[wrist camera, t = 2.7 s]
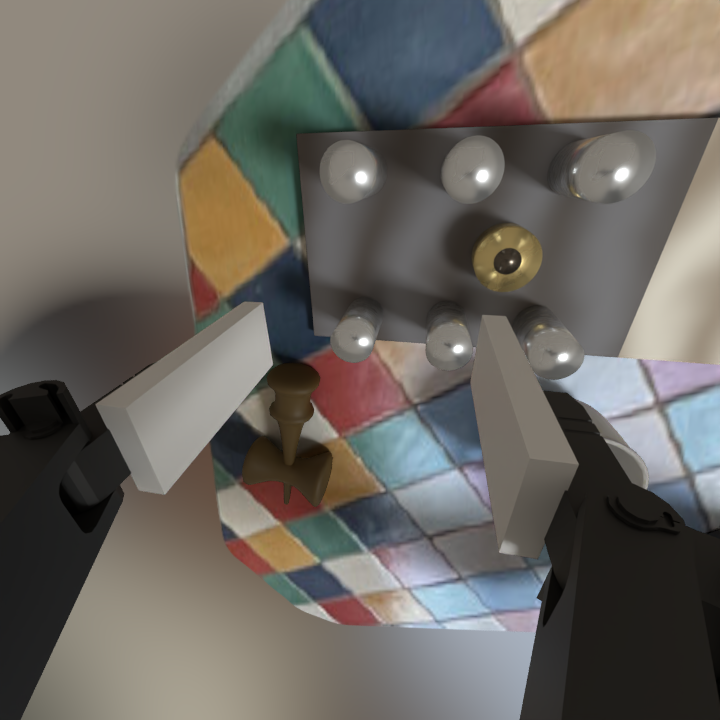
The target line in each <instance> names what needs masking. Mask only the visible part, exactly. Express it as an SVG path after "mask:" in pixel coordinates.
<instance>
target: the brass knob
mask: <svg viewBox="0 0 720 720" xmlns="http://www.w3.org/2000/svg"><path fill="white" fill-rule="evenodd" d="M471 259H472V265H473V268H474V271H475V274H476V277H477V278H478V280H479V281H480V283H481V284H482V285H483V286H485V287H486V288H488V289H490V290H493V291H497V292H509V291H513V290H517V289H519V288H521V287H523V286H524V285H526V284H527V283H528V282H530V281H531V280H532V279H533V278H534V276H535V275H536V274H537V272H538V270H539V268H540V266H541V262H542V248H541V245H540V242H539V241H538V239H537V238H536V237H535V236H534V235H533V234H532V233H531V232H529V231H528V230H526V229H525V228H524V227H522V226H520V225H518V224H515V223H501V224H497V225H494V226H492V227H490V228H488V229H487V230H486V231H484V232H483V233H482V234H481V235H480V236H479V238H478V239H477V240H476V242H475V244H474V246H473V250H472V256H471Z"/></svg>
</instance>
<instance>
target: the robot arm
mask: <svg viewBox="0 0 720 720" xmlns="http://www.w3.org/2000/svg"><path fill="white" fill-rule="evenodd" d="M272 365H273V361H272V355H271V349H270V343H269V337H268V331H267V325H266V319H265V313H264V307H263V303H260V302H243V303H242V304H240V305H239V306H237V307H236V308H234V309H233V310H231V311H230V312H229V313H227V314H226V315H224V316H223V317H221V318H220V319H218V320H217V321H215V322H214V323H213V324H211V325H210V326H208V327H207V328H205V329H204V330H202V331H201V332H200V333H198V334H197V335H195V336H194V337H192V338H191V339H189V340H188V341H186V342H185V343H184V344H182V345H181V346H179V347H178V348H176V349H175V350H174V351H172V352H171V353H169V354H168V355H166V356H165V357H163V358H162V359H160V360H159V361H157V362H155V363H153V364H151V365H148V366H147V367H145V368H144V369H143V370H141V371H140V372H138V373H137V374H135V377H131V378H129V379H128V380H126V381H125V382H123V385H119V386H118V387H116V388H115V389H113V390H112V391H110V392H109V393H108V394H106V395H104V396H103V397H102V398H100V399H98V400H97V401H96V402H94V403H93V404H91V405H90V406H88V407H87V408H85V409H84V410H83V411H81V412H80V411H79V409H78V407H77V405H76V403H75V402H74V400H73V398H72V396H71V394H70V392H69V390H68V389H67V387H66V385H65V383H64V382H60V381H57V380H53V381H52V380H51V381H41V382H35V383H30V384H27V385H24V386H21V387H18V388H15V389H12V390H10V391H8V392H6V393H3V394H1V395H0V418H1V419H2V421H3V422H4V424H5V425H6V427H7V428H8V429H9V431H10V432H11V433H10V434H9V435H3V436H0V720H21V717H22V715H23V713H24V711H25V709H26V707H27V704H28V702H29V700H30V698H31V696H32V694H33V692H34V689H35V687H36V685H37V683H38V681H39V679H40V677H41V675H42V673H43V670H44V668H45V666H46V664H47V662H48V660H49V658H50V655H51V653H52V651H53V649H54V647H55V645H56V642H57V640H58V638H59V636H60V634H61V632H62V630H63V628H64V625H65V623H66V621H67V619H68V617H69V615H70V613H71V610H72V608H73V606H74V604H75V602H76V600H77V598H78V595H79V593H80V591H81V589H82V587H83V585H84V583H85V580H86V578H87V576H88V574H89V572H90V570H91V568H92V565H93V563H94V561H95V559H96V557H97V555H98V553H99V551H100V548H101V546H102V544H103V542H104V540H105V538H106V536H107V533H108V531H109V529H110V527H111V525H112V523H113V521H114V518H115V516H116V514H117V512H118V510H119V508H120V506H121V504H122V501H123V497H124V492H123V491H122V488H121V487H120V484H121V483H122V482H123V481H124V480H125V479H126V478H127V477H128V476H129V475H130V474H131V476H132V478H133V480H134V482H135V484H136V486H137V488H138V490H139V491H146V492H151V493H157V494H163V495H165V494H166V493H167V492H168V490H169V489H170V488H171V487H172V486H173V484H174V483H175V482H176V481H177V480H178V478H179V477H180V476H181V475H182V474H183V472H184V471H185V470H186V469H187V468H188V466H189V465H190V464H191V463H192V462H193V460H194V459H195V458H196V457H197V455H198V454H199V453H200V452H201V451H202V449H203V448H204V447H205V446H206V445H207V444H208V442H209V441H210V440H211V439H212V438H213V436H214V435H215V434H216V433H217V432H218V430H219V429H220V428H221V427H222V426H223V424H224V423H225V422H226V421H227V420H228V418H229V417H230V416H231V415H232V413H233V412H234V411H235V410H236V409H237V407H238V406H239V405H240V404H241V403H242V401H243V400H244V399H245V398H246V397H247V395H248V394H249V393H250V392H251V391H252V389H253V388H254V387H255V386H256V385H257V383H258V382H259V381H260V380H261V379H262V377H263V376H264V375H265V374H266V373H267V371H268V370H269V369H270V368H271V367H272ZM470 384H471V390H472V396H473V401H474V407H475V413H476V419H477V425H478V431H479V437H480V443H481V449H482V455H483V461H484V466H485V472H486V478H487V484H488V490H489V496H490V502H491V508H492V514H493V520H494V526H495V532H496V537H497V543H498V549H499V553H504V554H510V555H516V556H521V557H527V558H533V559H538V558H539V556H540V553H541V551H542V549H543V546H544V544H546V547H547V550H548V554H549V557H550V561H551V564H552V567H551V569H550V571H549V573H548V575H547V577H546V579H545V581H544V584H543V586H542V588H541V590H540V592H539V594H538V596H537V598H538V599H539V600H541V601H542V603H541V609H540V614H539V619H538V625H537V630H536V636H535V641H534V646H533V651H532V656H531V662H530V667H529V673H528V678H527V684H526V688H525V694H524V699H523V704H522V710H521V715H520V720H720V530H717V531H714V532H712V533H709V534H705V533H702V532H699V531H697V530H694V529H692V528H690V527H687V526H686V525H685V523H684V521H683V519H682V518H681V517H680V516H679V514H678V513H677V512H676V511H675V510H674V509H673V508H672V507H671V506H670V505H669V504H668V503H666V502H665V501H664V500H662V499H661V498H659V497H658V496H657V495H655V494H654V493H652V492H650V491H648V490H646V489H644V488H642V487H640V486H638V485H636V484H633V483H632V482H631V481H630V479H629V478H628V476H627V474H626V473H625V471H624V470H623V468H622V467H621V465H620V463H619V462H618V460H617V459H616V457H615V455H614V454H613V452H612V451H611V449H610V448H609V446H608V444H607V443H606V441H605V440H604V438H603V437H602V436H600V432H599V430H598V429H597V427H596V425H595V424H594V423H592V419H591V418H590V416H589V414H588V413H587V411H586V410H585V408H584V406H583V405H581V404H580V403H579V402H578V401H576V400H575V399H574V398H572V397H571V396H570V395H569V394H567V393H562V392H551V391H543V390H542V388H541V386H540V384H539V382H538V380H537V378H536V376H535V374H534V372H533V370H532V368H531V366H530V364H529V362H528V360H527V358H526V356H525V354H524V352H523V350H522V348H521V346H520V344H519V342H518V339H517V337H516V335H515V333H514V331H513V329H512V327H511V325H510V323H509V321H508V319H507V317H506V316H495V315H482V319H481V325H480V331H479V336H478V342H477V347H476V353H475V359H474V364H473V370H472V376H471V381H470Z"/></svg>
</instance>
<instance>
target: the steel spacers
mask: <svg viewBox="0 0 720 720" xmlns="http://www.w3.org/2000/svg"><path fill="white" fill-rule="evenodd" d="M655 161H656V149H655V146H654V143H653V141H652V140H651V139H650V138H649V137H648V136H647V135H646V134H644V133H642V132H639V131H635V130H628V131H621V132H617V133H612V134H607V135H602V136H597V137H593V138H588V139H583V140H578V141H574V142H572V143H570V144H568V145H566V146H564V147H563V148H562V149H561V150H560V151H559V152H558V153H557V154H556V155H555V156H554V158H553V159H552V161H551V163H550V166H549V169H548V183H549V185H550V187H551V189H552V190H553V191H554V192H555V193H557V194H559V195H561V196H566V197H571V198H576V199H581V200H587V201H592V202H597V203H602V204H611V203H616V202H619V201H622V200H624V199H626V198H628V197H630V196H631V195H633V194H634V193H636V192H637V191H638V190H639V189H640V188H641V187H642V186H643V185H644V184H645V183H646V181H647V180H648V178H649V177H650V175H651V173H652V171H653V168H654V165H655ZM504 167H505V161H504V156H503V152H502V150H501V148H500V147H499V145H498V144H497V143H496V142H495V141H494V140H492V139H491V138H489V137H486V136H479V135H477V136H471V137H468V138H465V139H463V140H462V141H460V142H459V143H457V144H456V145H455V146H454V147H453V148H452V149H451V151H450V152H449V153H448V154H447V156H446V157H445V159H444V161H443V163H442V167H441V181H442V184H443V186H444V188H445V190H446V191H447V193H448V194H449V195H450V196H451V197H452V198H453V199H454V200H456V201H458V202H460V203H465V204H472V203H477V202H480V201H482V200H484V199H485V198H487V197H488V196H490V195H491V194H492V193H493V192H494V191H495V189H496V188H497V187H498V185H499V183H500V181H501V179H502V177H503V173H504ZM386 175H387V168H386V163H385V161H384V158H383V157H382V155H381V154H380V153H379V152H378V151H377V150H375V149H374V148H371V147H368V146H366V145H363V144H360V143H357V142H355V141H351V140H341V141H338V142H335V143H334V144H332V145H331V146H330V147H329V148H328V149H327V150H326V151H325V153H324V155H323V157H322V160H321V163H320V179H321V183H322V186H323V188H324V189H325V191H326V193H327V194H328V195H329V196H330V197H331V198H332V199H334V200H335V201H337V202H340V203H344V204H350V203H355V202H357V201H360V200H362V199H365V198H367V197H370V196H372V195H374V194H376V193H377V192H378V191H379V190H380V189H381V188H382V187H383V185H384V183H385V180H386ZM383 316H384V313H383V309H382V307H381V305H380V304H379V303H378V302H377V301H376V300H375V299H373V298H370V297H360V298H357V299H355V300H354V301H353V302H352V303H351V304H350V306H349V308H348V309H347V311H346V312H345V314H344V316H343V317H342V319H341V320H340V322H339V324H338V325H337V327H336V328H335V330H334V332H333V333H332V336H331V347H332V349H333V351H334V353H335V354H336V355H337V356H338V357H339V358H341V359H342V360H344V361H347V362H352V363H356V362H361V361H363V360H365V359H367V358H368V357H369V355H370V354H371V352H372V349H373V346H374V344H375V341H376V338H377V335H378V332H379V329H380V326H381V323H382V320H383ZM513 331H514V333H515V335H516V337H517V339H518V341H519V343H520V345H521V347H522V349H523V351H524V353H525V355H526V357H527V359H528V361H529V363H530V365H531V367H532V369H533V371H534V372H535V373H536V374H537V375H538V376H540V377H542V378H545V379H551V380H555V379H562V378H565V377H568V376H570V375H571V374H573V373H574V372H576V371H577V370H578V369H579V368H580V366H581V365H582V363H583V360H584V350H583V348H582V346H581V345H580V344H579V343H578V342H577V340H576V339H575V338H574V337H573V336H572V334H571V333H570V332H569V331H568V330H567V328H566V327H565V326H564V325H563V324H562V322H561V321H560V320H559V319H558V318H557V316H556V315H555V314H554V313H553V312H552V311H551V310H550V309H549V308H547V307H545V306H540V305H534V306H530V307H527V308H525V309H523V310H522V311H520V312H519V313H518V314H517V316H516V317H515V319H514V321H513ZM472 353H473V347H472V343H471V338H470V333H469V329H468V324H467V319H466V315H465V311H464V309H463V308H462V307H461V306H460V305H459V304H457V303H456V302H453V301H442V302H439V303H437V304H435V305H434V306H433V307H432V308H431V309H430V311H429V313H428V316H427V333H426V356H427V359H428V361H429V362H430V363H431V364H432V365H433V366H434V367H436V368H438V369H441V370H445V371H452V370H456V369H459V368H461V367H463V366H464V365H466V364H467V363H468V362H469V360H470V359H471V356H472Z"/></svg>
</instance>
